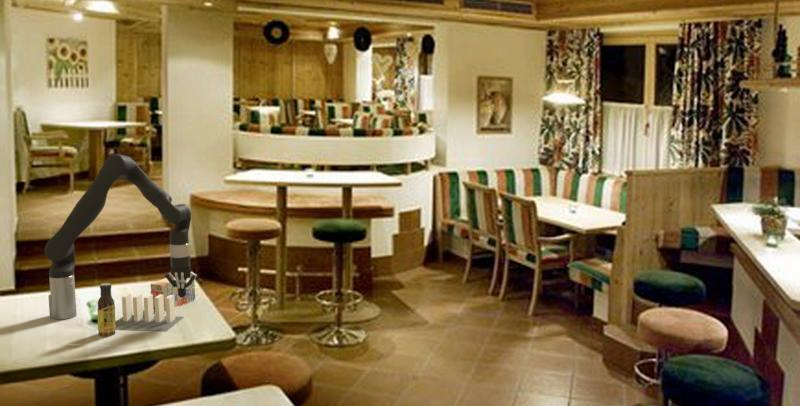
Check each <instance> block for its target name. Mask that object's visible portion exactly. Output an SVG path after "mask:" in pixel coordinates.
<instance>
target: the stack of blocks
mask: <svg viewBox="0 0 800 406" xmlns="http://www.w3.org/2000/svg"><path fill="white" fill-rule="evenodd" d="M173 278H174V276H173ZM174 279H175V278H174ZM175 280H176V279H175ZM189 280H190V278H189V279H188V278H187V282H188V281H189ZM187 282H186V284H187ZM150 294H153V312H155V299H154V298H155V297H157V296H158V295H163V297H164V313H166V301H165V298H166V297H168V296H169V295H174V303H175V308H177V307H181V306H183V304H184V305H185V303H186V304H188V303H190V301H191V302H192V300H193V301H195V300H196V287H195V280H194V281H193V282H192V284H191V285H190V286H188V287H186V295H185V297H184V298H182V297H180V296H179V295H178V288H177V287H173V286H172V284H171V283H170V282H169V281H168V280H167V278H166V277H165V278H162V279H160V280H157V281H155V282H151V283H150ZM194 299H195V300H194Z"/></svg>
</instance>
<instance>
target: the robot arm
mask: <svg viewBox="0 0 800 406" xmlns="http://www.w3.org/2000/svg"><path fill="white" fill-rule="evenodd" d="M118 178H119V179H124V180H126V181H128V182H129V183H131V184H133V186H135V187H136V188H137V189H138V190H139V191H140V194H141V195H142V196H143V197H144V198H145V199H146V200H147V201H148V202H149V203H150V204H151V205H153V206H154V207H155V208H156V209H157V210H158V212H159V213H160V215H161V216H162V217H163V218H164V220H165V221H166V222H168V223H170V224H172V225H174V227H173V228H172V229H171V230H170V232H169V240H170V243H169V244H170V245H169V247H170V249H169V257H170V259H169V260H170V269H169V272H168V273H166V274H165V275H164V277H165V278H167V280H168V281H169V282H170V283H171V284H172V286H173V287H177V288H178V295H179V296H180V297H182V298H184V297H185V295H186V287H188V286H190V285H191V284H192V282H193V281H194V282H195V280H196V278H197V277H198V274H197V273H194V272H193V269H192V267H191V250H190V243H189V231H190V225H191V221H192V213H191V212H192V211H191V208H190V207H189V206H188V205H187V204H186V203H185V204H184V203H180V204H176V205H174V204H172V201H173V198H172V197H171V195H170V194H169V193H168V192H167V191H165V190H164V189H163V188H161V186H159V185H158V184H156V183H155V181H153V179H151V178H150V177H149V176H148V175H147V174H146V173H145V172H144V171H143V170H142V169H141V168H140V166H139V165H138V164H137V163H136V162H135V160H133V159H132V158H131V157H130V156H128V155H124V154H119V153H113V154H111V155H110V156H109V157H107V158H106V160H105V161H104V162H103V164H102V166H101V168H100V169H99V171H98V173H97V175H96V176H95V178H94V180H93V181H92V182H91V184H90V185H89V187H88V188H87V190H85V193H84V194H83V195H82V196H81V197H80V198H79V200H78V202H77V203H76V204H75V206H74V207H73V208H72V210H71V211H70V213H69V215H68V216H67V218H66V219H65V220H64V223H63V224H62V226H61V227H60V228H59V229H58V230H57V232H56V233H55V234H54V235H53V236H52V237H51V238H50V239H49V240H48V241H47V242H46V244H45V246H44V255H45V257H46V258H47V259H48V260H49V261H50V262H51V263H50V268H49V270H48V274H49V276H48V277H49V279H48V280H49V290H50V294H48V307H49V308H48V309H49V318H50V319H53V320H68V319H72V318H74V317H76V316H77V300H76V299H77V298H76V286H75V285H76V284H75V267H76V251H75V249H76V247H75V244H74V243H75V241H76V240H77V239H78V238H79V236H80V235H81V234H82V233H83V232H84V231H85V230H87V229H88V228H89V226H90V225H92V223H93V222H94V221H95V220H96V219H97V218H98V217H99V215H100V213H101V212H102V211H103V210H104V207H105V206H106V201H107V197H108V192H109V191H110V189H111V187H112V186H113V184H114V183H115V182H116V181H117V180H118ZM173 277H174V278H175V279H176V280H175V279H174V278H173ZM188 278H189V279H190V280H189V281H188V282H187V279H188ZM186 282H187V284H186Z"/></svg>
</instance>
